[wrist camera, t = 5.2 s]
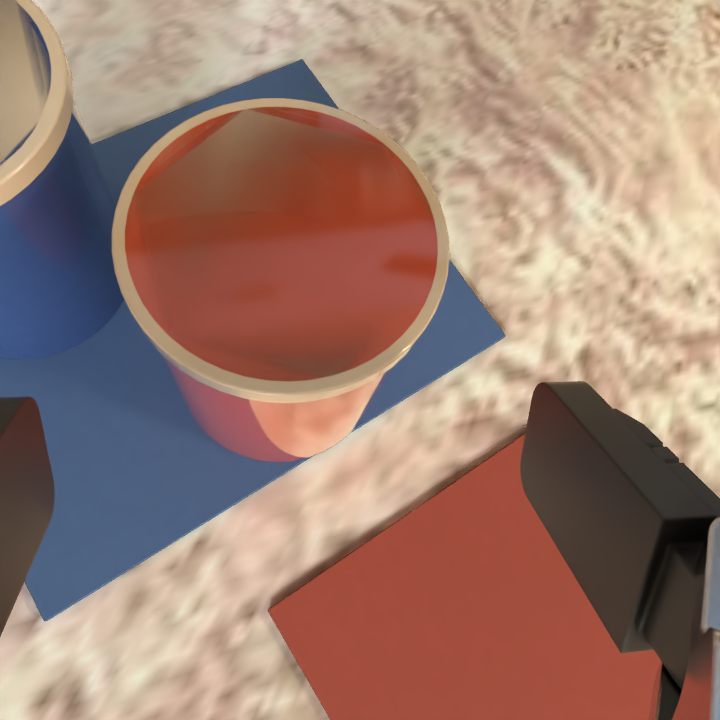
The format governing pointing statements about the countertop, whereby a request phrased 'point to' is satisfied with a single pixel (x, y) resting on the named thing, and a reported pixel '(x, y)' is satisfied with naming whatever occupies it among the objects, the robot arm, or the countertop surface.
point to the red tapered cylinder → (279, 268)
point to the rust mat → (462, 619)
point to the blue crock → (48, 198)
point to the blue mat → (172, 407)
